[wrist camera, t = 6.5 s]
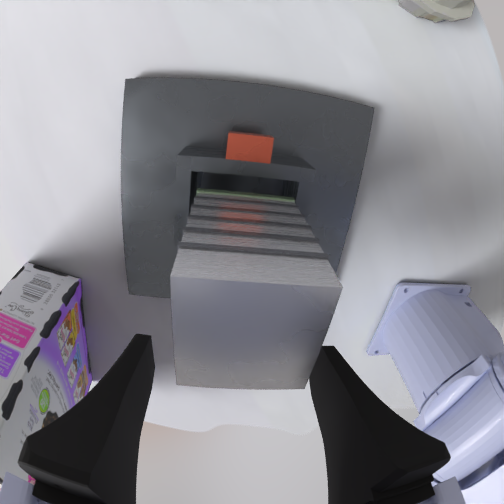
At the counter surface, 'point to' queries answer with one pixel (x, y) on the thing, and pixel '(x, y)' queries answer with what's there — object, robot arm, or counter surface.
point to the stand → (231, 161)
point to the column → (249, 293)
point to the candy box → (39, 357)
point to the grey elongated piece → (439, 9)
